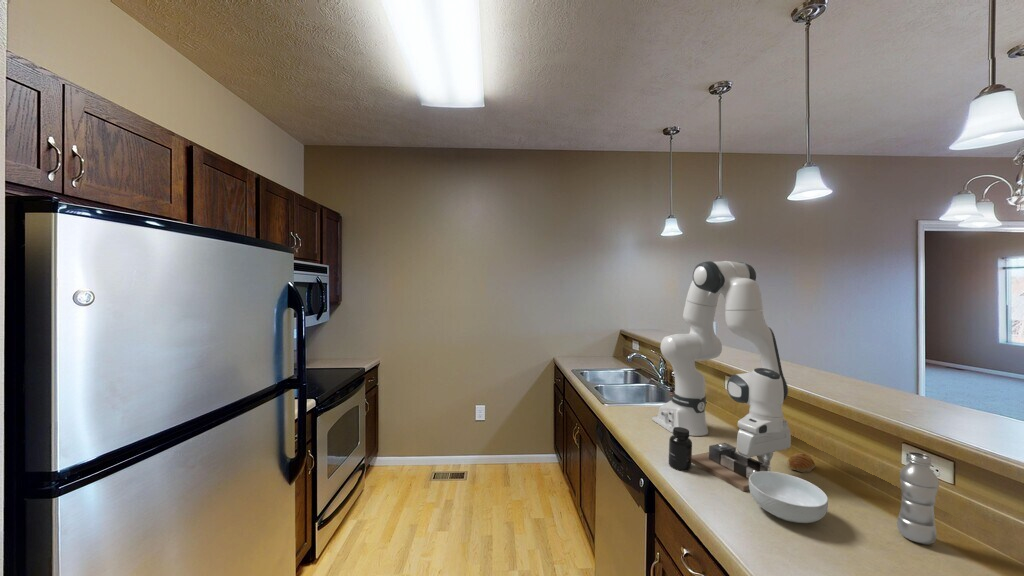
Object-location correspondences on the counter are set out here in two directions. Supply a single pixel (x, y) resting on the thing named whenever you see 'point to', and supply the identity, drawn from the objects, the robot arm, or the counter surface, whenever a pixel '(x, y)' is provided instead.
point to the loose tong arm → (751, 462)
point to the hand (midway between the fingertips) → (764, 465)
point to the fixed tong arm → (737, 466)
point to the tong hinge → (721, 452)
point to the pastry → (801, 462)
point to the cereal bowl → (788, 496)
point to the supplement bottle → (680, 449)
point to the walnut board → (721, 471)
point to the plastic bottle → (918, 499)
